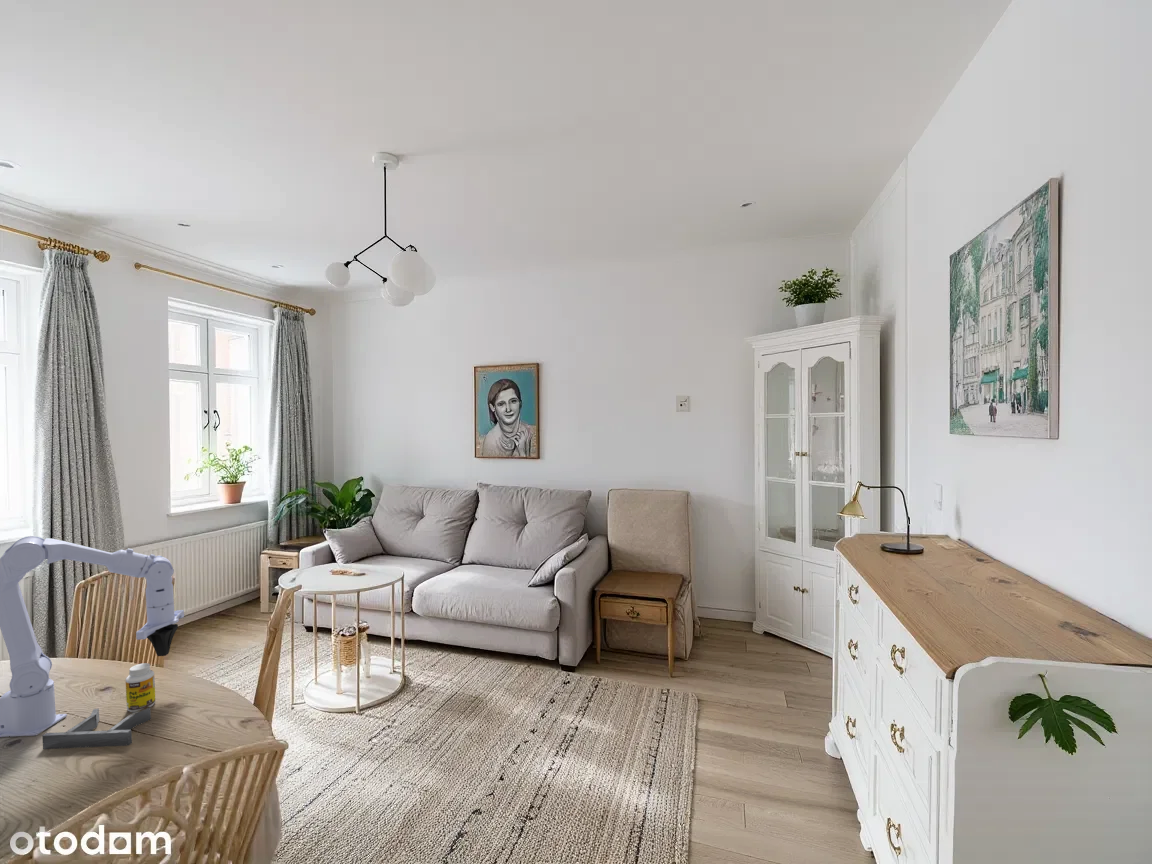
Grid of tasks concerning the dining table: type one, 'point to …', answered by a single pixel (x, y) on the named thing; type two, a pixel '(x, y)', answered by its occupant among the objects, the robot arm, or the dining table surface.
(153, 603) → the robot arm
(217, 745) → the dining table surface
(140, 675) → the supplement bottle
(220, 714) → the dining table surface
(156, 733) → the dining table surface
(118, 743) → the stop cradle
